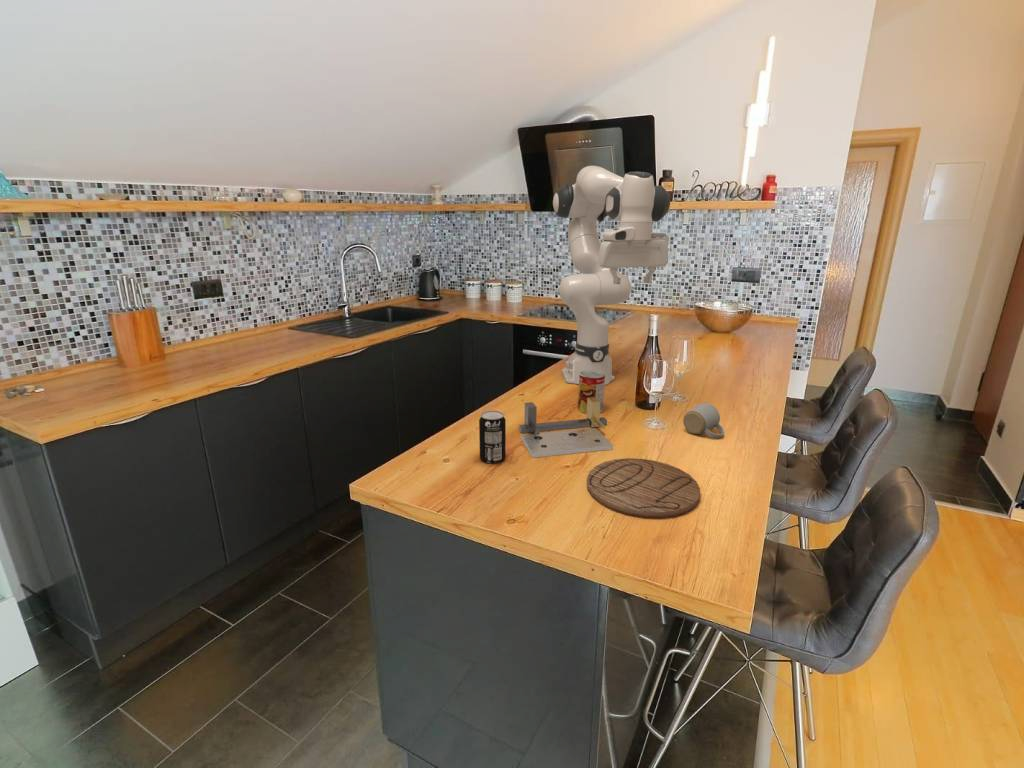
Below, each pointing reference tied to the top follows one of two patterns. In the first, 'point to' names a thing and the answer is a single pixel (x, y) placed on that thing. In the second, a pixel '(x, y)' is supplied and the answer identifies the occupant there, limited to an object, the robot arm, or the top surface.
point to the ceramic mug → (703, 420)
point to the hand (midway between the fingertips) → (632, 283)
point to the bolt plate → (565, 442)
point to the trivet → (643, 488)
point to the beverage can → (492, 436)
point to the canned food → (590, 388)
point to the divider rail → (548, 426)
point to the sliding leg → (594, 412)
